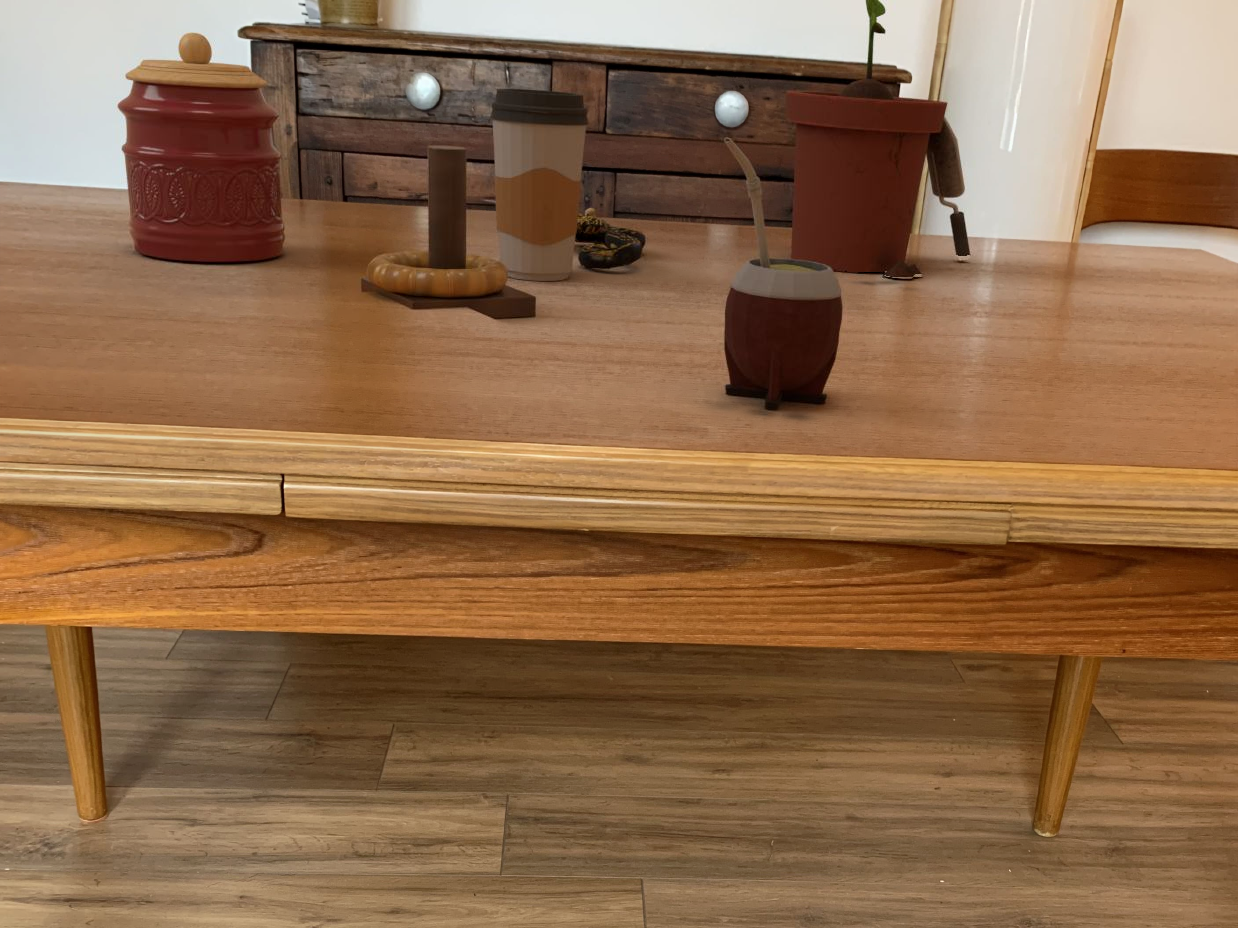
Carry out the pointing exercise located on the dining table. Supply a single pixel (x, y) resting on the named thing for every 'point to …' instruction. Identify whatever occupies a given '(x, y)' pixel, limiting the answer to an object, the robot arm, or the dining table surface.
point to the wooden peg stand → (454, 242)
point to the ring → (436, 276)
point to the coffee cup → (537, 180)
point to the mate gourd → (779, 320)
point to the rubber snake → (606, 243)
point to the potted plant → (868, 172)
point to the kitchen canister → (201, 160)
